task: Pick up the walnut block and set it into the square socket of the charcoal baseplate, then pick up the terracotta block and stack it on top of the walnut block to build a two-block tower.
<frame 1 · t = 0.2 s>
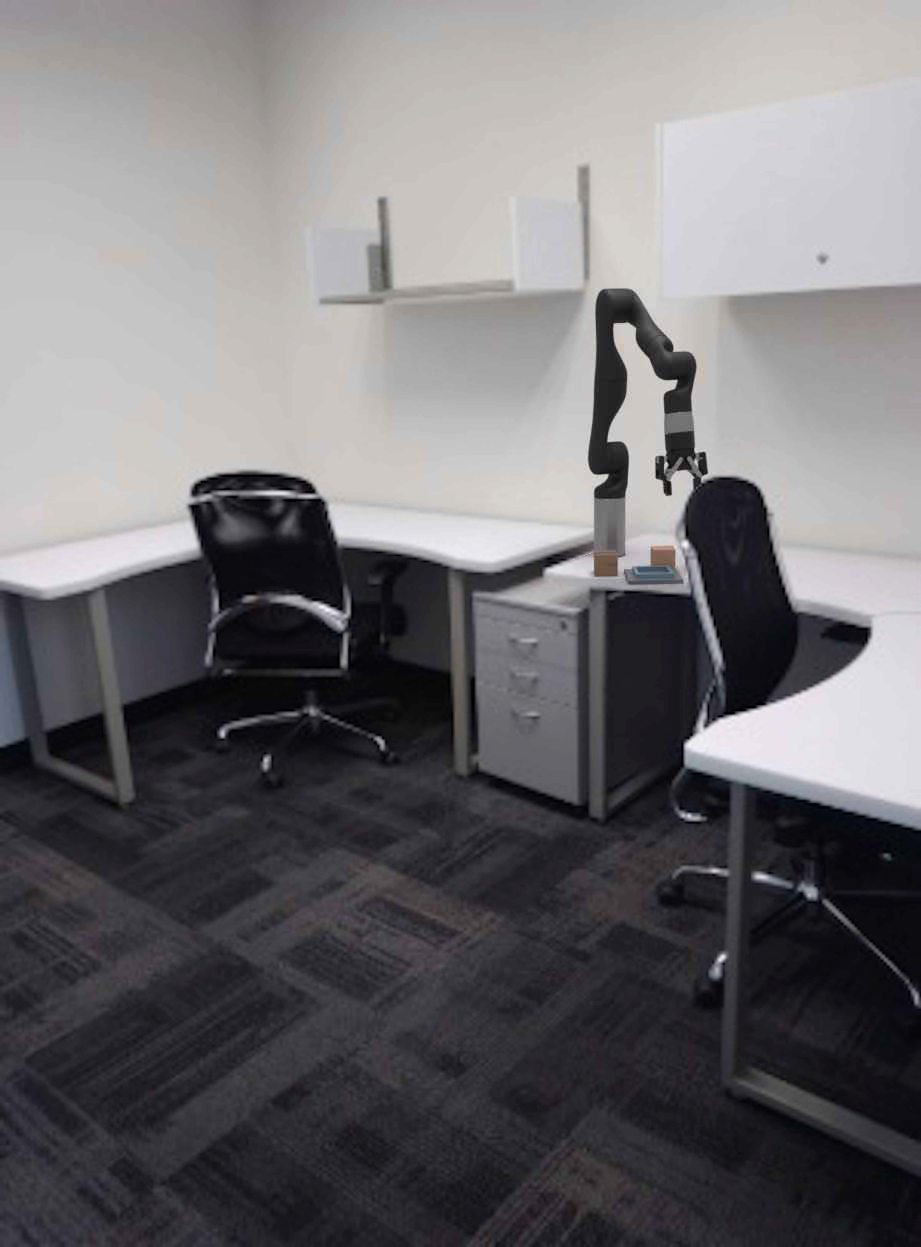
hand: (682, 494, 253), 22 cm above the table, tool pointing down, fingers open, 8 cm apart
baseplate: (652, 577, 259), on the table
terracotta block: (662, 569, 269), on the table
walnut block: (605, 574, 266), on the table
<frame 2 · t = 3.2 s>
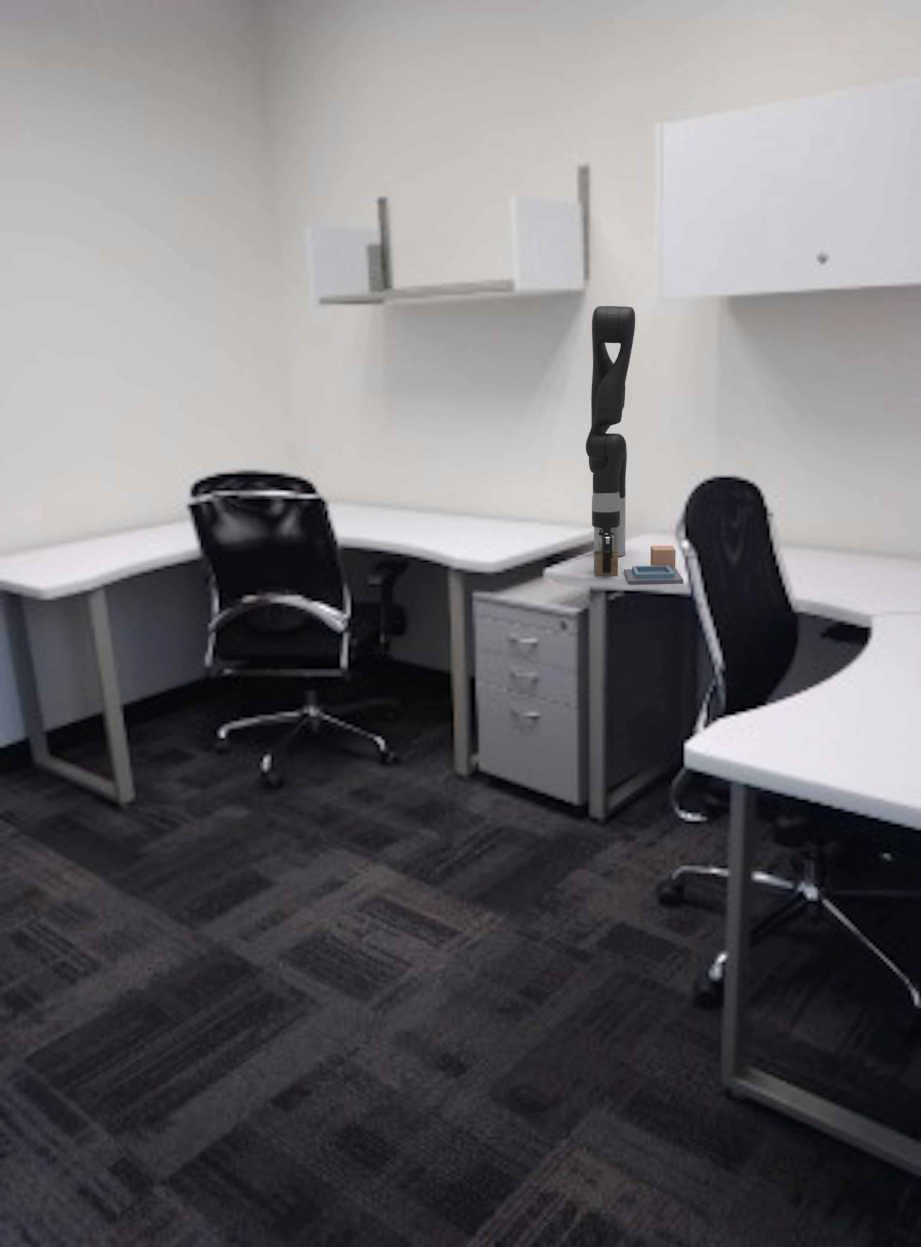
hand: (605, 569, 265), 1 cm above the table, tool pointing down, fingers closed on walnut block, 6 cm apart
walnut block: (605, 574, 266), on the table, touching gripper
everything else where it was.
when the fingers open (4 cm above the table, at t = 8.7 s): walnut block drops 1 cm, resting on baseplate.
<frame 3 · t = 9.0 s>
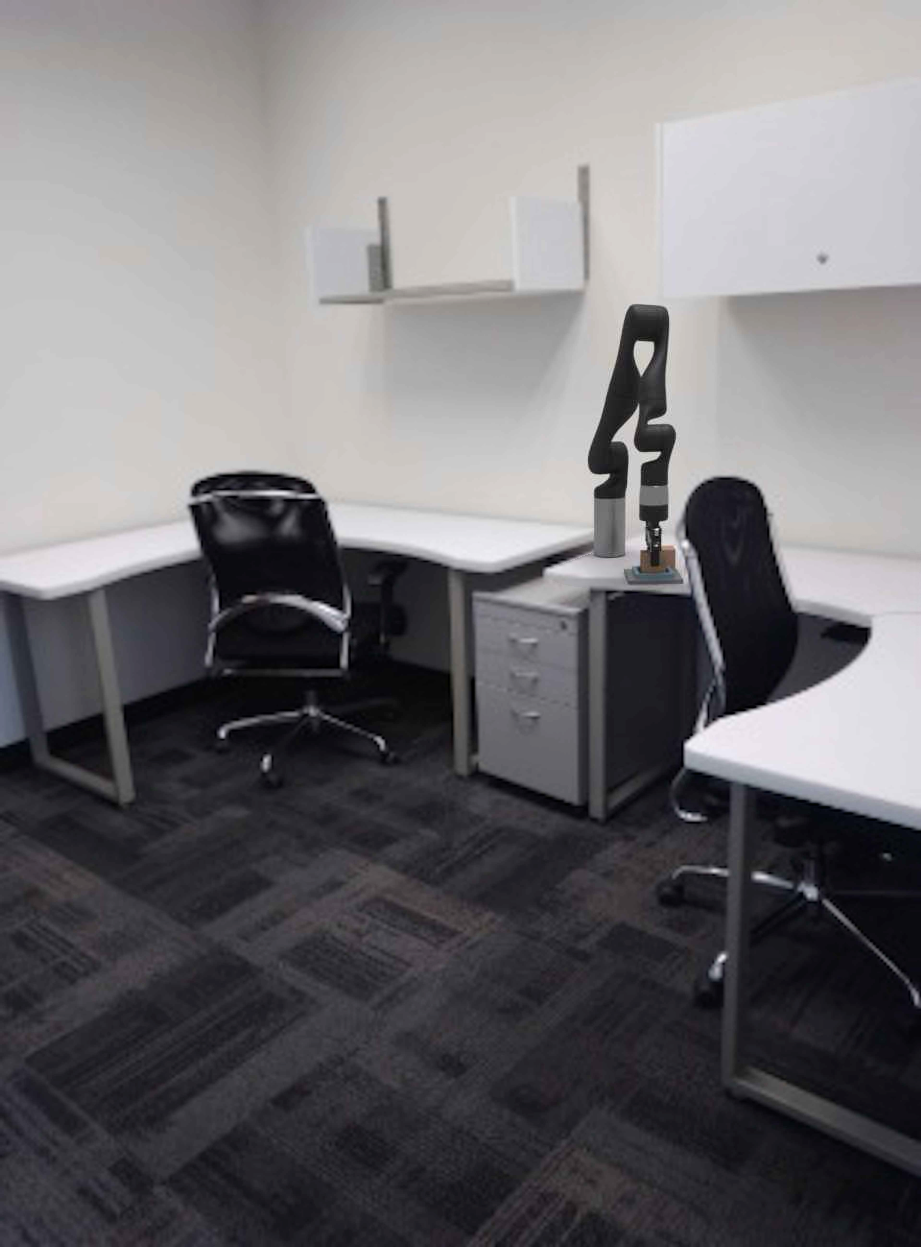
hand: (652, 563, 258), 4 cm above the table, tool pointing down, fingers open, 8 cm apart
walnut block: (652, 574, 259), point 1 cm above the table, touching baseplate
everything else where it was.
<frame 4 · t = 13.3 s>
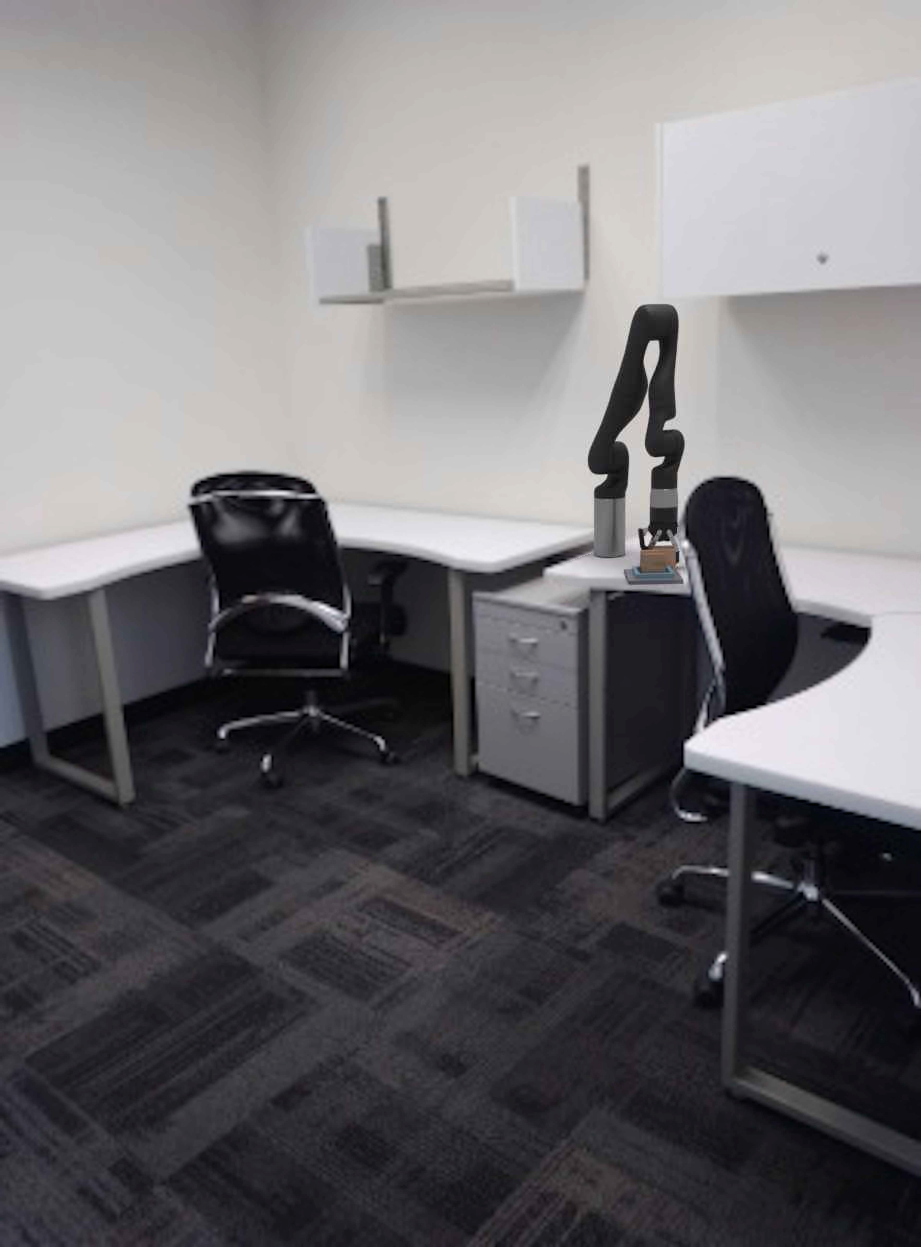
hand: (662, 564, 269), 1 cm above the table, tool pointing down, fingers closed on terracotta block, 6 cm apart
terracotta block: (662, 568, 269), on the table, touching gripper
everything else where it was.
when the fingers open (10 cm above the table, at t = 18.0 s): terracotta block drops 1 cm, resting on walnut block.
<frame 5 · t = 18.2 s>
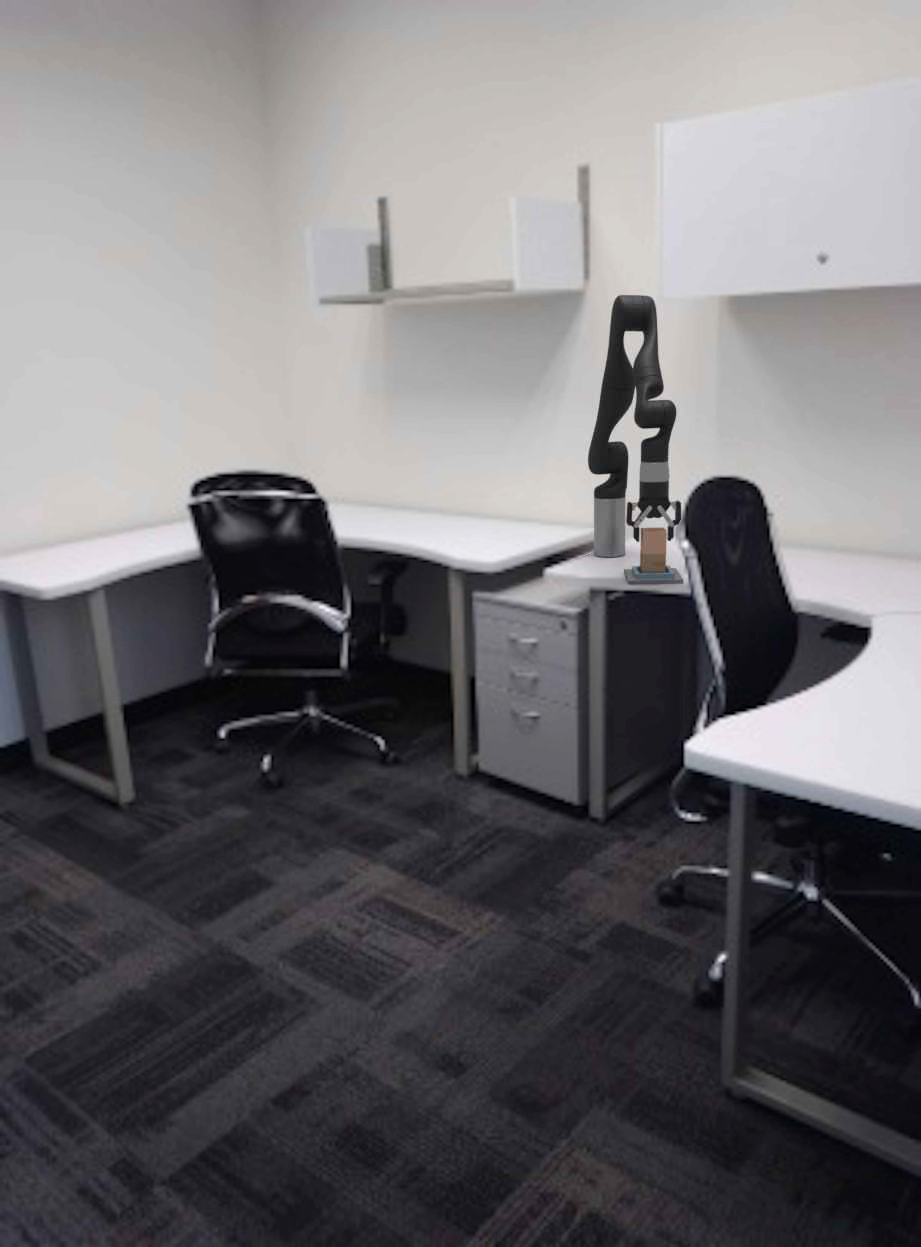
hand: (653, 540, 256), 10 cm above the table, tool pointing down, fingers open, 8 cm apart
terracotta block: (653, 552, 257), point 7 cm above the table, touching walnut block
walnut block: (652, 574, 259), point 1 cm above the table, touching baseplate, terracotta block
everything else where it was.
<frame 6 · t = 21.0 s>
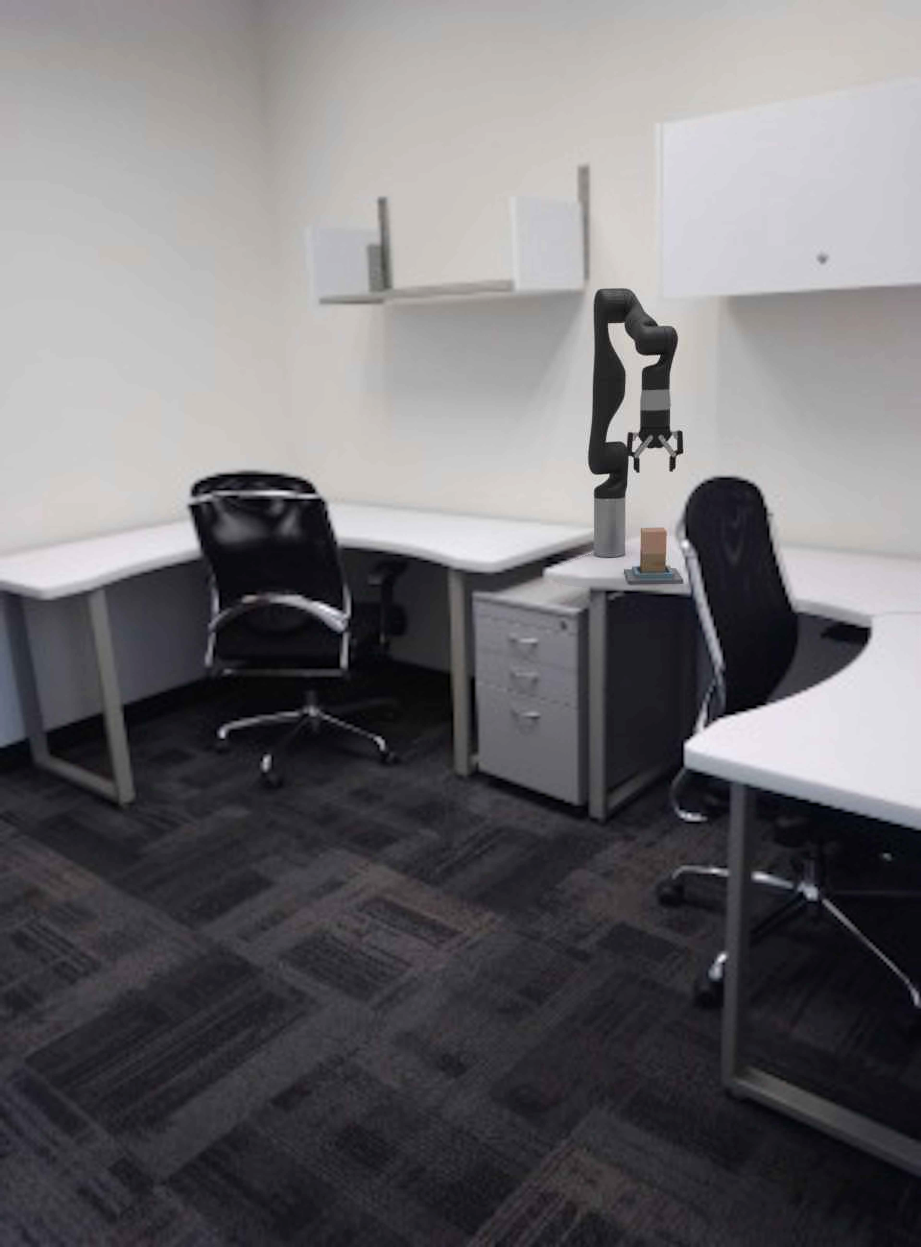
hand: (654, 471, 251), 28 cm above the table, tool pointing down, fingers open, 8 cm apart
nothing on the table moved.
at the end: walnut block 0.1 cm off-centre on the baseplate, point 1.0 cm above the baseplate's base; terracotta block 0.0 cm off-centre on the baseplate, point 7.0 cm above the baseplate's base; terracotta block tilted 0° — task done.
